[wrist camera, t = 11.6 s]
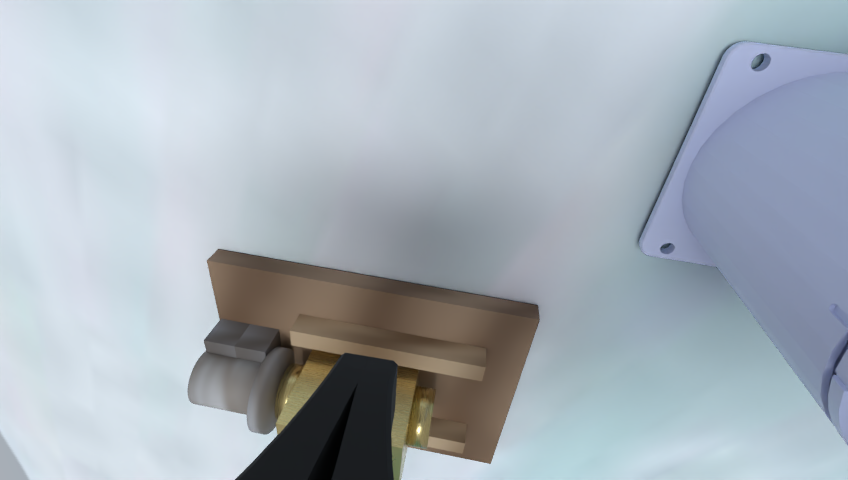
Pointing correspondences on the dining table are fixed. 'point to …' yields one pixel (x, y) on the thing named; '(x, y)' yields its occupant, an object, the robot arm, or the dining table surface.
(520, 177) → the dining table surface
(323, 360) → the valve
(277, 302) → the pipe board
